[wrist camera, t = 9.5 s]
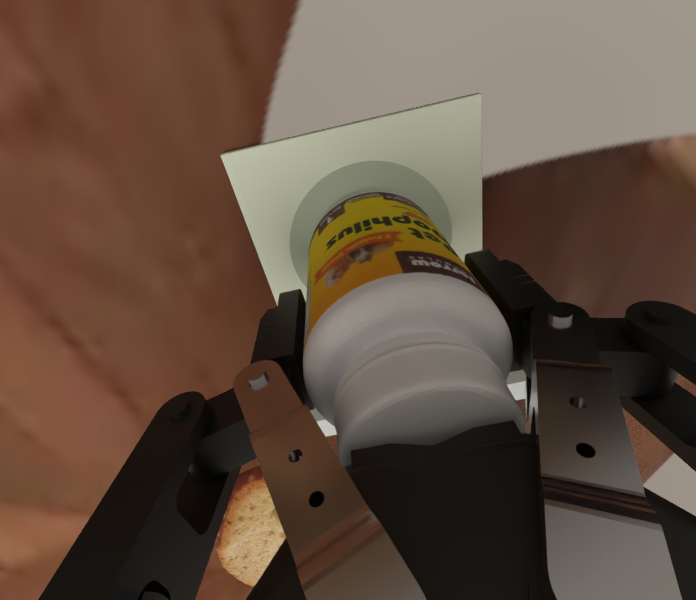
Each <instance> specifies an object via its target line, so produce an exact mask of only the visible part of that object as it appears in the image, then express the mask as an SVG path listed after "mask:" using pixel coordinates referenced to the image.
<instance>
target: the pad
mask: <svg viewBox="0 0 696 600" xmlns="http://www.w3.org/2000/svg"><path fill="white" fill-rule="evenodd" d="M221 158H222V161H223V163H224V166H225V169H226V171H227V174H228V176H229V179H230V182H231V184H232V187H233V190H234V192H235V195H236V198H237V200H238V203H239V206H240V208H241V211H242V214H243V216H244V219H245V221H246V224H247V227H248V229H249V232H250V235H251V237H252V240H253V243H254V245H255V248H256V251H257V253H258V256H259V259H260V261H261V264H262V266H263V269H264V272H265V274H266V277H267V280H268V282H269V285H270V288H271V290H272V293H273V296H274V298H275V301H276V304H277V306H278V300H279V294H280V293H283V292H287V291H292V290H297V289H301V291H302V293H303V296H304V299H305V302H306V296H307V277H308V253H309V246H310V242H311V238H312V235H313V232H314V230H315V228H316V226H317V224H318V223H319V221H320V220H321V218H322V217H323V216H324V215H325V214H326V213H327V212H328V211H329V210H330V209H331V208H332V207H333V206H334V205H336V204H337V203H339V202H340V201H342V200H344V199H346V198H348V197H350V196H352V195H355V194H359V193H363V192H368V191H386V192H392V193H396V194H399V195H401V196H404V197H406V198H408V199H410V200H411V201H413V202H414V203H416V204H417V205H418V206H419V207H420V208H421V209H422V210H423V211H424V212H425V213H426V214H427V215H428V216H429V218H430V219H431V220H432V222H433V223H434V224H435V226H436V227H437V228H438V230H439V231H440V232H441V234H442V235H443V236H444V238H445V239H446V240H447V242H448V243H449V244H450V246H451V247H452V248H453V250H454V251H455V252H456V254H457V255H458V256H459V257H460V259H461V260H462V261H463V263H464V258H465V255H466V254H467V253H472V252H477V251H481V250H482V94H481V93H476V94H471V95H467V96H463V97H459V98H454V99H450V100H446V101H441V102H437V103H433V104H429V105H424V106H420V107H416V108H412V109H408V110H404V111H399V112H395V113H391V114H386V115H382V116H378V117H374V118H369V119H365V120H361V121H357V122H353V123H348V124H344V125H340V126H336V127H332V128H327V129H323V130H319V131H314V132H310V133H306V134H302V135H298V136H293V137H289V138H285V139H281V140H276V141H272V142H268V143H264V144H259V145H255V146H251V147H247V148H243V149H238V150H234V151H230V152H226V153H222V154H221Z"/></svg>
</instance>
